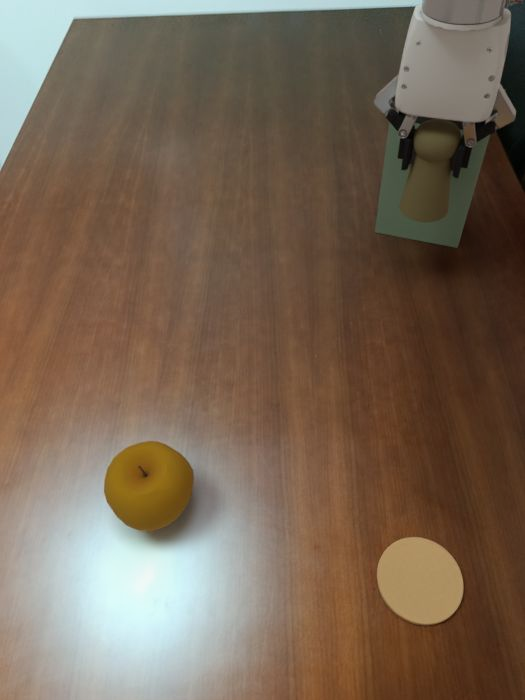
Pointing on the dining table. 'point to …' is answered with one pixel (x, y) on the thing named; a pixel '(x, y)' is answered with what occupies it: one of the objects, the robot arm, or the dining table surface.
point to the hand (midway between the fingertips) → (431, 166)
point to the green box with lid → (459, 198)
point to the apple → (148, 485)
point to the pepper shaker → (430, 171)
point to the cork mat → (420, 581)
